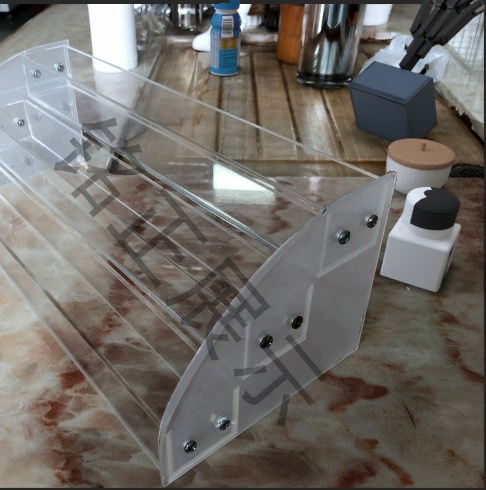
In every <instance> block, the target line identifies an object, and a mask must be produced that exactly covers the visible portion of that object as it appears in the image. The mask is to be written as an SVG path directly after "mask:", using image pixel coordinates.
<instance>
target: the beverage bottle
mask: <svg viewBox="0 0 486 490" xmlns="http://www.w3.org/2000/svg"><path fill="white" fill-rule="evenodd" d="M229 1H230V2H229V3H220V4H214V3H213V8H214V10H215V11H214V13H213V15H212V17H211V19H210V26H211V28H210V31H209V37H210V38H209V39H210V40H209V41H210V42H209V43H210V44H209V45H210V46H209V47H210V49H209V72H210V74H212V75H213V76H218V77H233V76H235V75H237V74H239V72H240V67H241V66H240V60H241V43H242V35H243V31H242V30H243V29H241V26H242V25H243V21H242V17H241V15H240V13H239V11H238V10H240V7H241V0H229Z"/></svg>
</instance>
